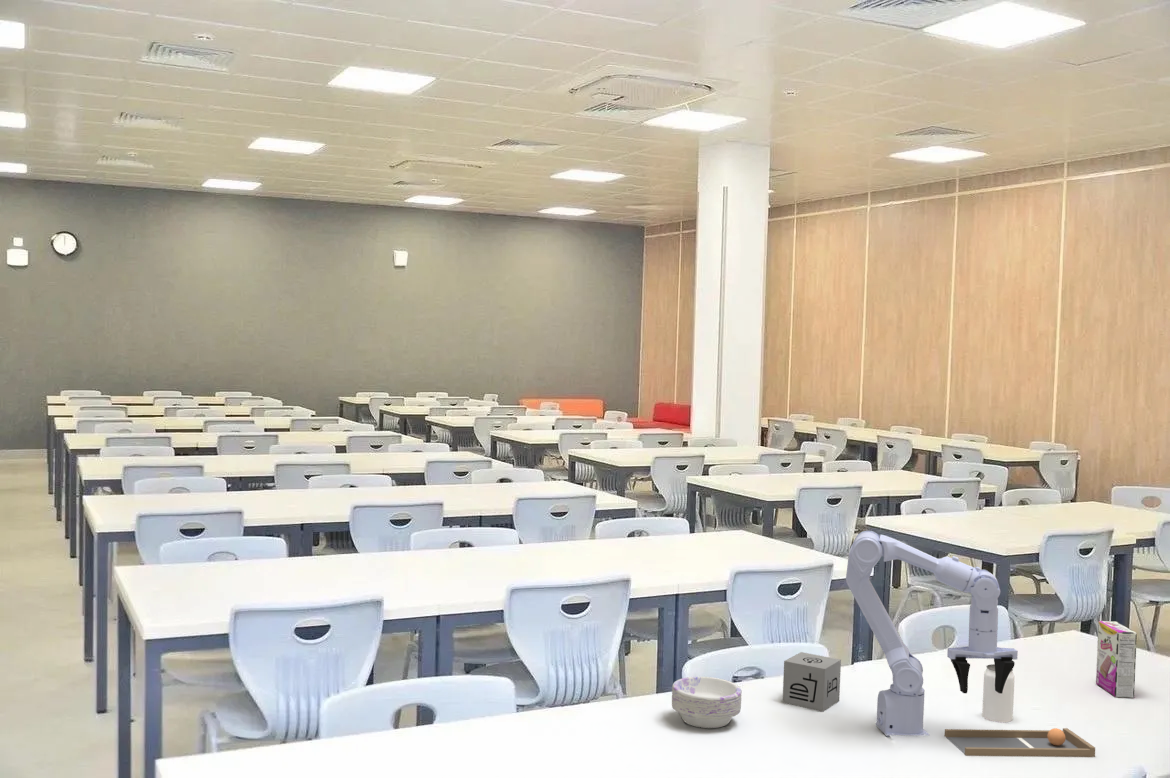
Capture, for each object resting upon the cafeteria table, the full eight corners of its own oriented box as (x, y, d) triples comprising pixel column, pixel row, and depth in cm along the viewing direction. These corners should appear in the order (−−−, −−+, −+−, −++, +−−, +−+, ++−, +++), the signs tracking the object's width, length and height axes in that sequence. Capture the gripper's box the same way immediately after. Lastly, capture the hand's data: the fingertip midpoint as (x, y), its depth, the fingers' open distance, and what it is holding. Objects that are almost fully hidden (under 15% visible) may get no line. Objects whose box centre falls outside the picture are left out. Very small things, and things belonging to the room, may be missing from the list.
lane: (966, 758, 225) (966, 746, 225) (944, 738, 237) (944, 726, 237) (1094, 759, 227) (1095, 747, 227) (1066, 739, 238) (1067, 728, 238)
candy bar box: (1094, 684, 281) (1097, 620, 280) (1114, 685, 281) (1117, 621, 280) (1114, 698, 270) (1117, 631, 269) (1135, 698, 270) (1138, 632, 269)
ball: (1053, 727, 231) (1069, 732, 231) (1047, 724, 235) (1063, 729, 235) (1049, 744, 231) (1065, 749, 231) (1043, 740, 235) (1059, 745, 234)
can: (993, 726, 246) (996, 672, 245) (976, 716, 252) (978, 664, 252) (1018, 724, 248) (1021, 671, 247) (1000, 714, 254) (1002, 663, 253)
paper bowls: (738, 736, 234) (739, 699, 234) (666, 729, 237) (668, 693, 237) (742, 714, 249) (743, 679, 249) (675, 707, 252) (676, 673, 252)
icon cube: (823, 712, 252) (824, 669, 252) (782, 703, 258) (784, 660, 257) (839, 701, 260) (841, 659, 260) (799, 693, 266) (801, 652, 266)
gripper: (957, 633, 231) (955, 697, 231) (1024, 633, 232) (1022, 697, 232) (944, 625, 238) (942, 687, 238) (1010, 625, 239) (1008, 687, 239)
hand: (981, 692), depth 236 cm, fingers open, 7 cm apart
